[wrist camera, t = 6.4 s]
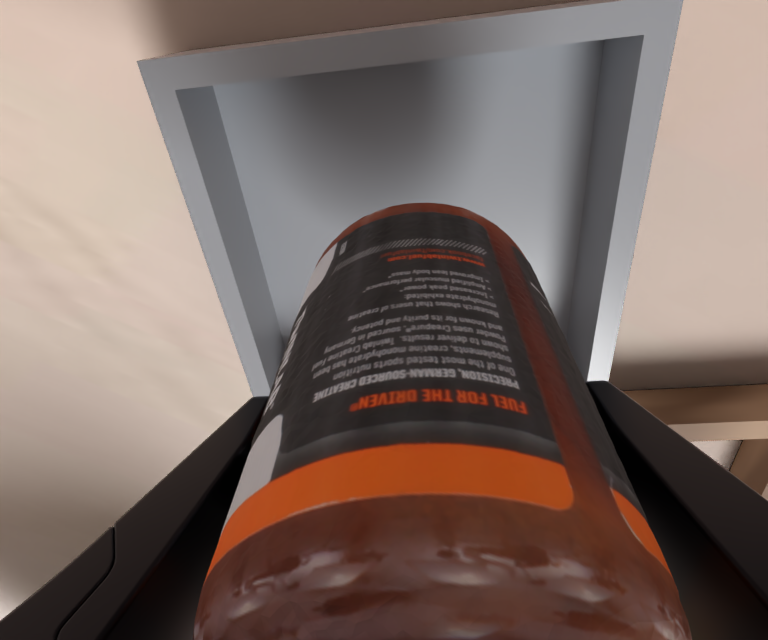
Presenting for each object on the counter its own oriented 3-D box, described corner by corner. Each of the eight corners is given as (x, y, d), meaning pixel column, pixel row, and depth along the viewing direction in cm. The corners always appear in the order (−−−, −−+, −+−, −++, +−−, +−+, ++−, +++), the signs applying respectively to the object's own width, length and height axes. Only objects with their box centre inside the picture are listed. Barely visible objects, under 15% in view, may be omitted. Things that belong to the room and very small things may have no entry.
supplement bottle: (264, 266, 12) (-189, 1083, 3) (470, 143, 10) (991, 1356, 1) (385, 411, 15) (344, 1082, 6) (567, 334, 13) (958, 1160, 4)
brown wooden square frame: (793, 382, 20) (829, 418, 18) (724, 527, 25) (747, 564, 23) (544, 394, 21) (555, 429, 19) (530, 531, 26) (538, 567, 24)
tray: (630, -6, 13) (684, -8, 10) (577, 360, 19) (601, 413, 17) (186, 51, 14) (136, 61, 11) (281, 377, 21) (264, 428, 18)
